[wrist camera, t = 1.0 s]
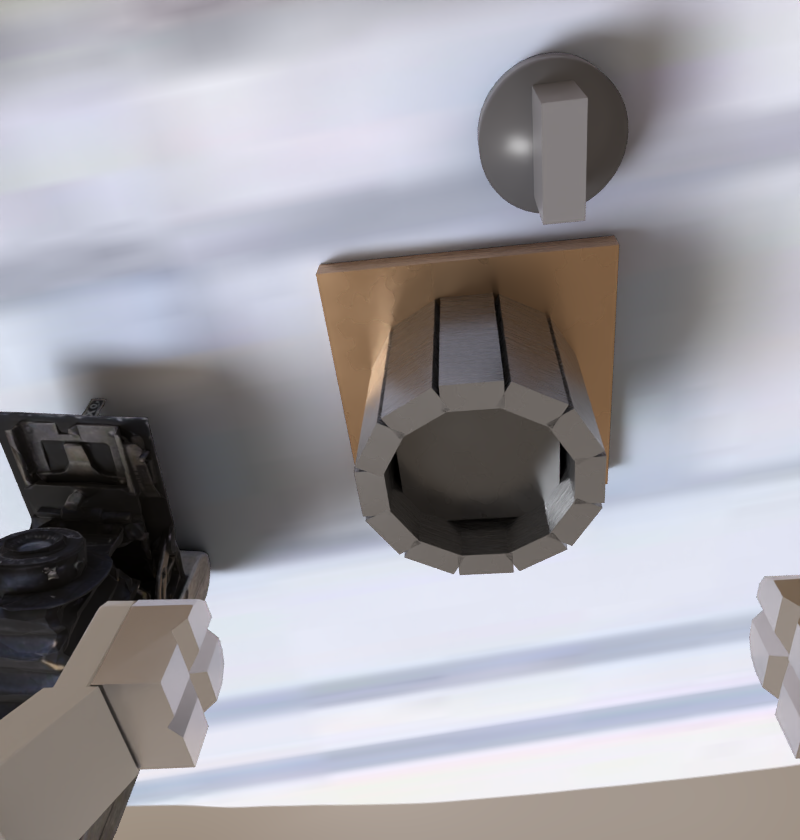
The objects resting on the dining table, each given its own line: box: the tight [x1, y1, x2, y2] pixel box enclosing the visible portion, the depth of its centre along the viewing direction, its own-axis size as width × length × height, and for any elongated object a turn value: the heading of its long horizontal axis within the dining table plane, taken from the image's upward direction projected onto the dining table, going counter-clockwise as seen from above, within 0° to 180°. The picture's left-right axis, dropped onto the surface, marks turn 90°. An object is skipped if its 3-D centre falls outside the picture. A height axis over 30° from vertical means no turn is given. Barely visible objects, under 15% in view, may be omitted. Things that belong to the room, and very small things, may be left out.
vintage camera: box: [0, 399, 210, 840], centre depth 36 cm, size 10×15×20 cm, turn 179°
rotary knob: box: [478, 53, 628, 225], centre depth 28 cm, size 6×6×6 cm
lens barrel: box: [316, 235, 619, 575], centre depth 34 cm, size 14×14×9 cm
